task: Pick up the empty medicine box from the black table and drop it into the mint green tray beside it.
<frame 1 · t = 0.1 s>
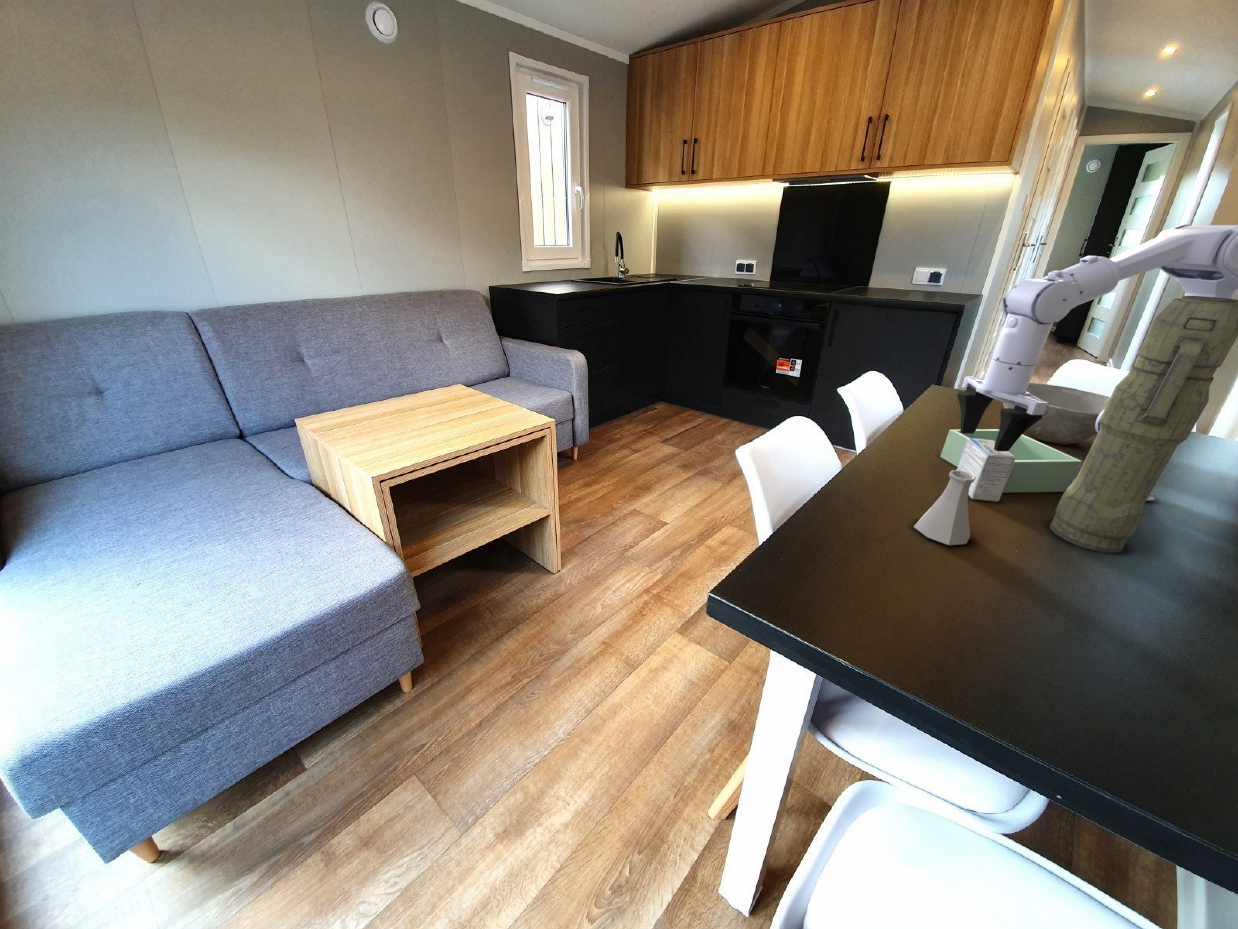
hand: (983, 441, 82), 10 cm above the table, tool pointing down, fingers open, 7 cm apart
flask: (940, 534, 75), on the table
mint green tray: (999, 473, 95), on the table
medicine box: (974, 491, 88), on the table
thermos: (1084, 537, 75), on the table
ceramic bowl: (1044, 438, 114), on the table
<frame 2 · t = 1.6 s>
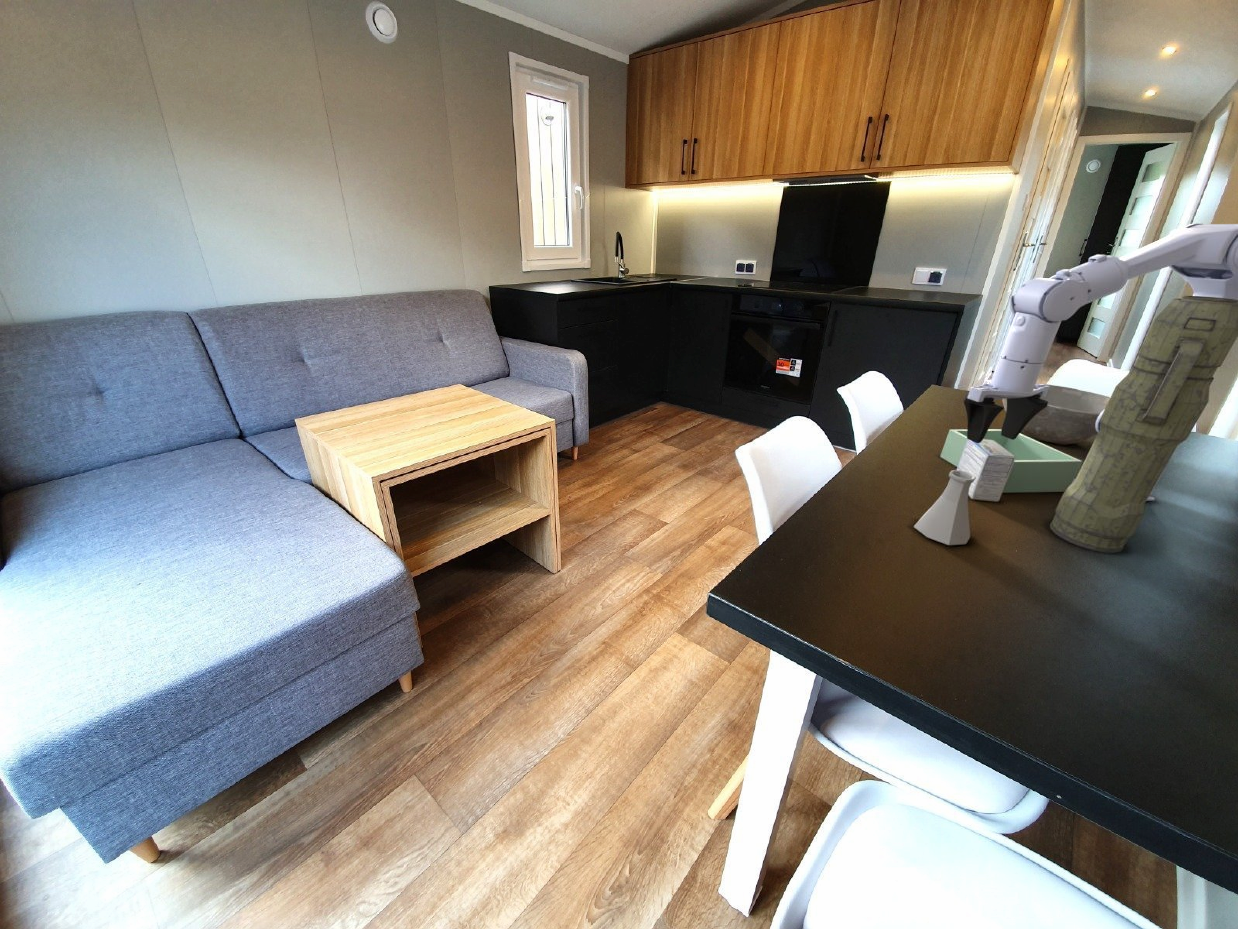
hand: (990, 439, 83), 10 cm above the table, tool pointing down, fingers open, 7 cm apart
nothing on the table moved.
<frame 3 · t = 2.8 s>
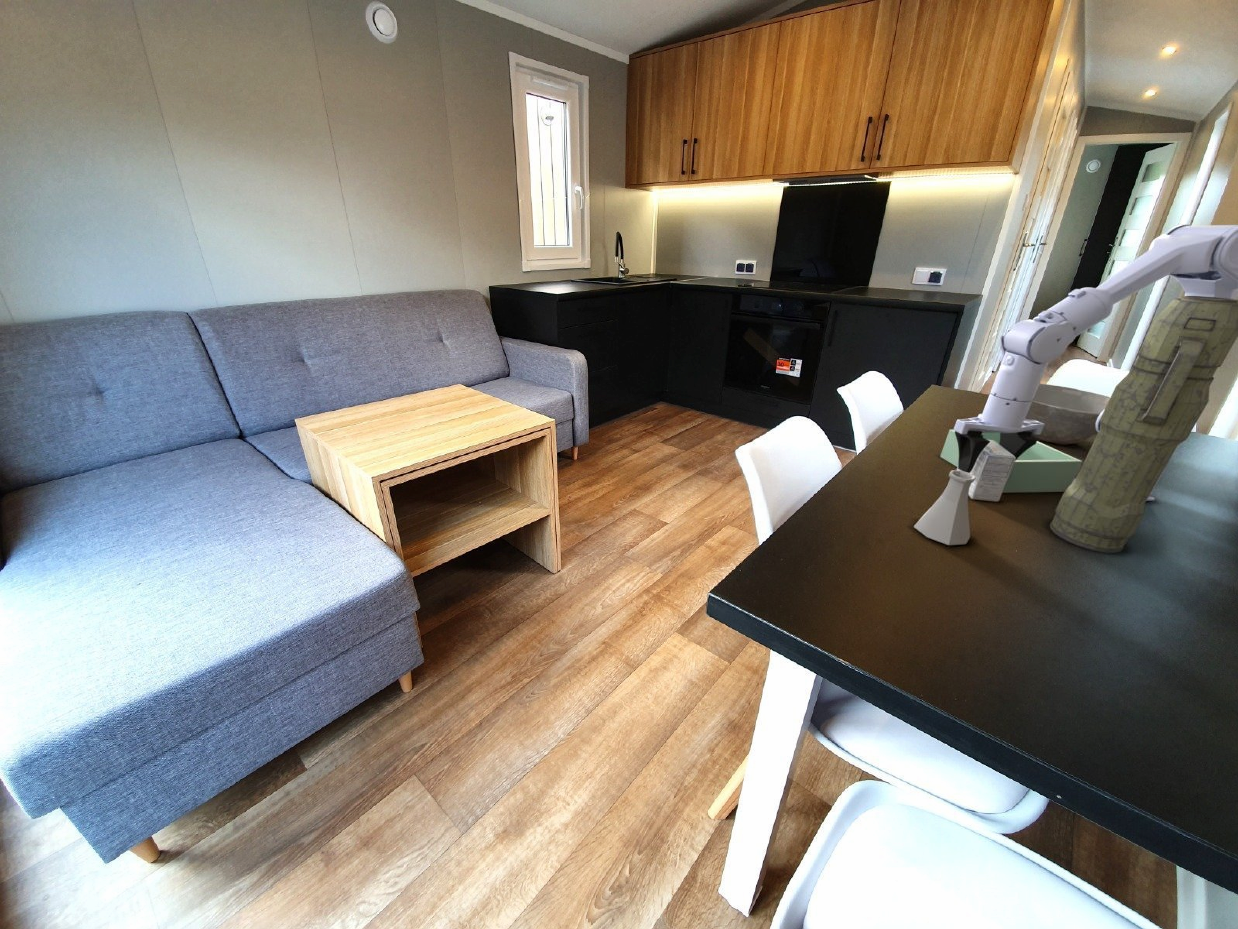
hand: (981, 470, 86), 4 cm above the table, tool pointing down, fingers open, 6 cm apart
nothing on the table moved.
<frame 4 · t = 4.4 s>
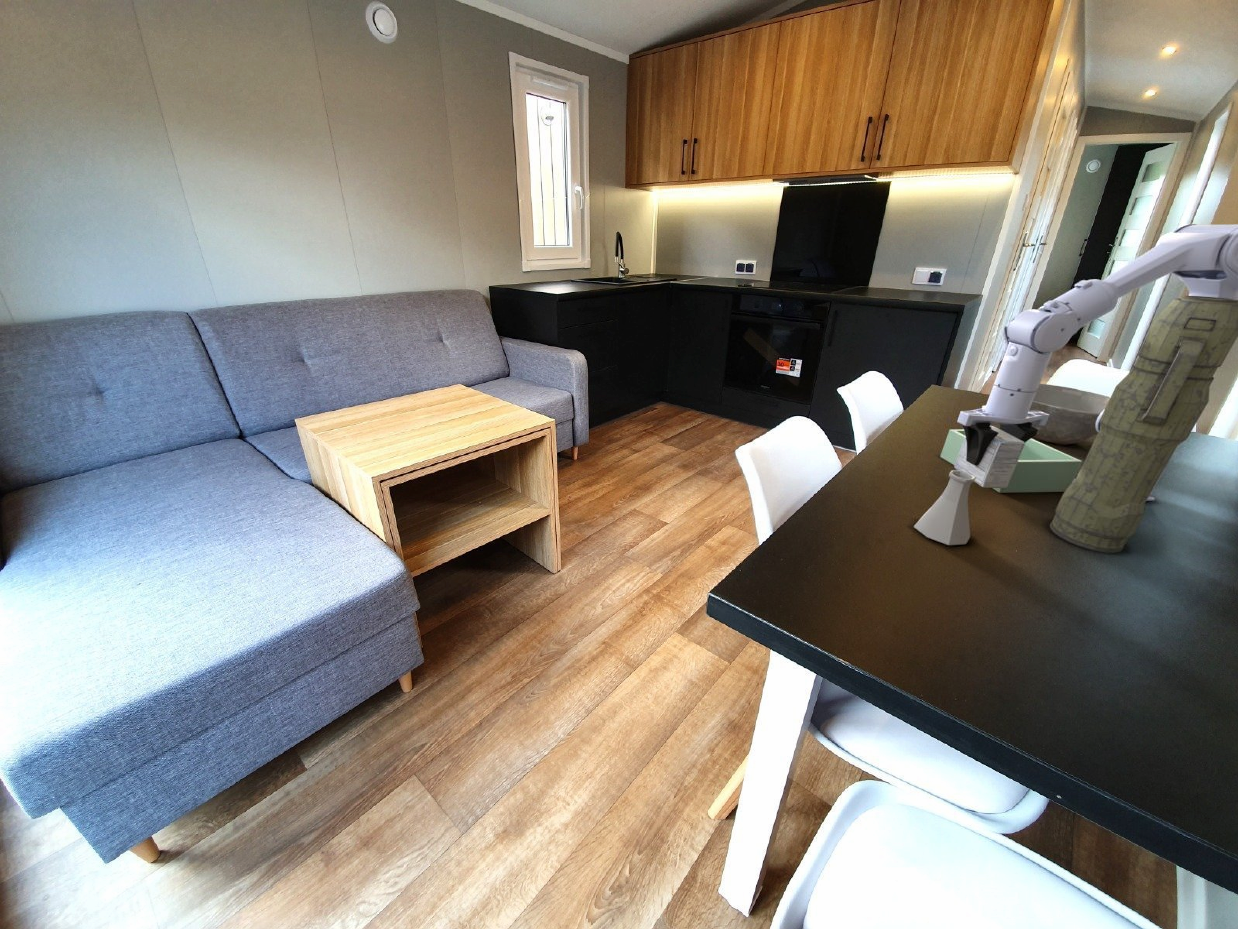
hand: (985, 462, 85), 6 cm above the table, tool pointing down, fingers closed on medicine box, 4 cm apart
medicine box: (978, 479, 87), point 2 cm above the table, touching gripper
everything else where it was.
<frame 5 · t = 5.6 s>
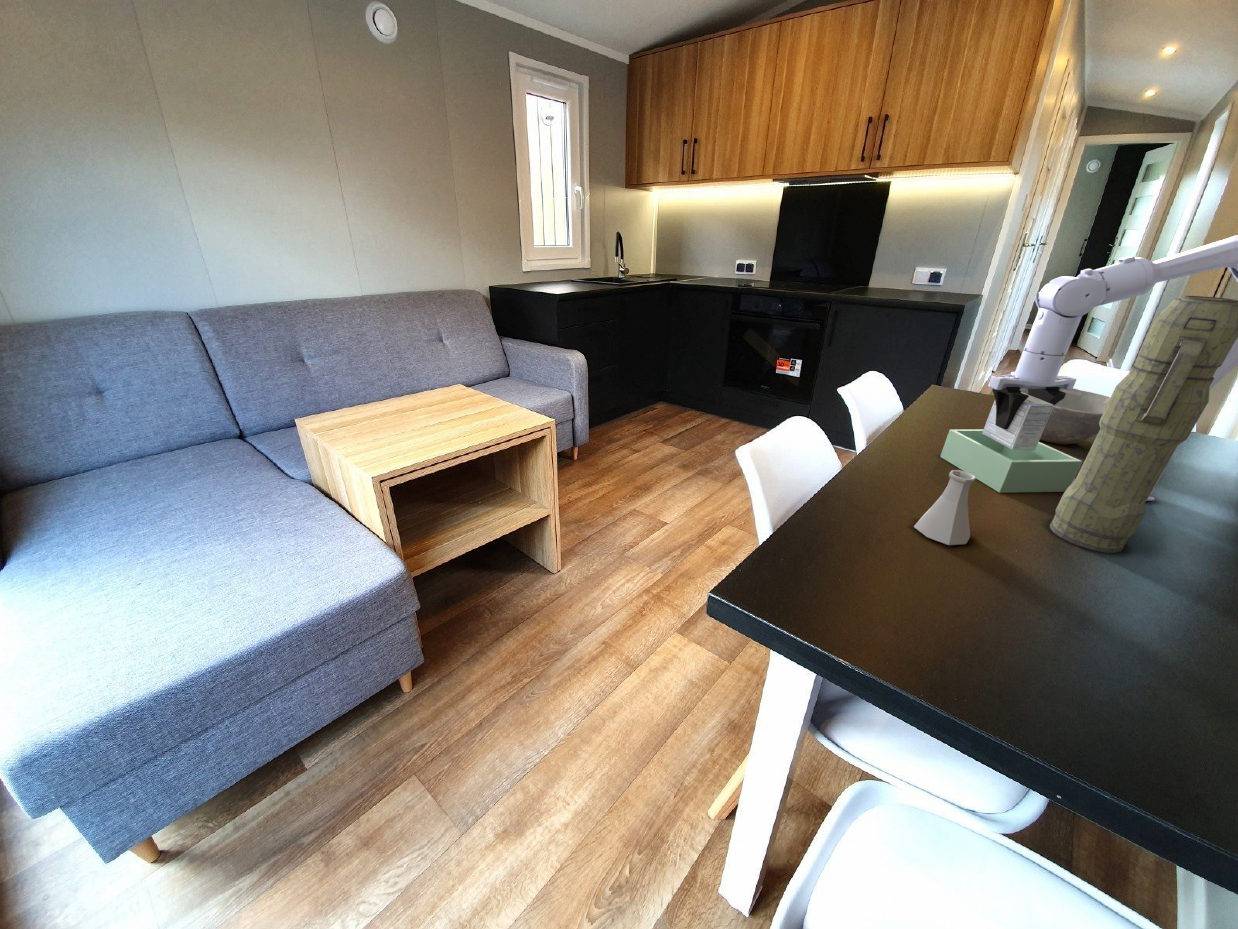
hand: (1014, 427, 89), 10 cm above the table, tool pointing down, fingers closed on medicine box, 4 cm apart
medicine box: (1006, 443, 90), point 7 cm above the table, touching gripper
everything else where it was.
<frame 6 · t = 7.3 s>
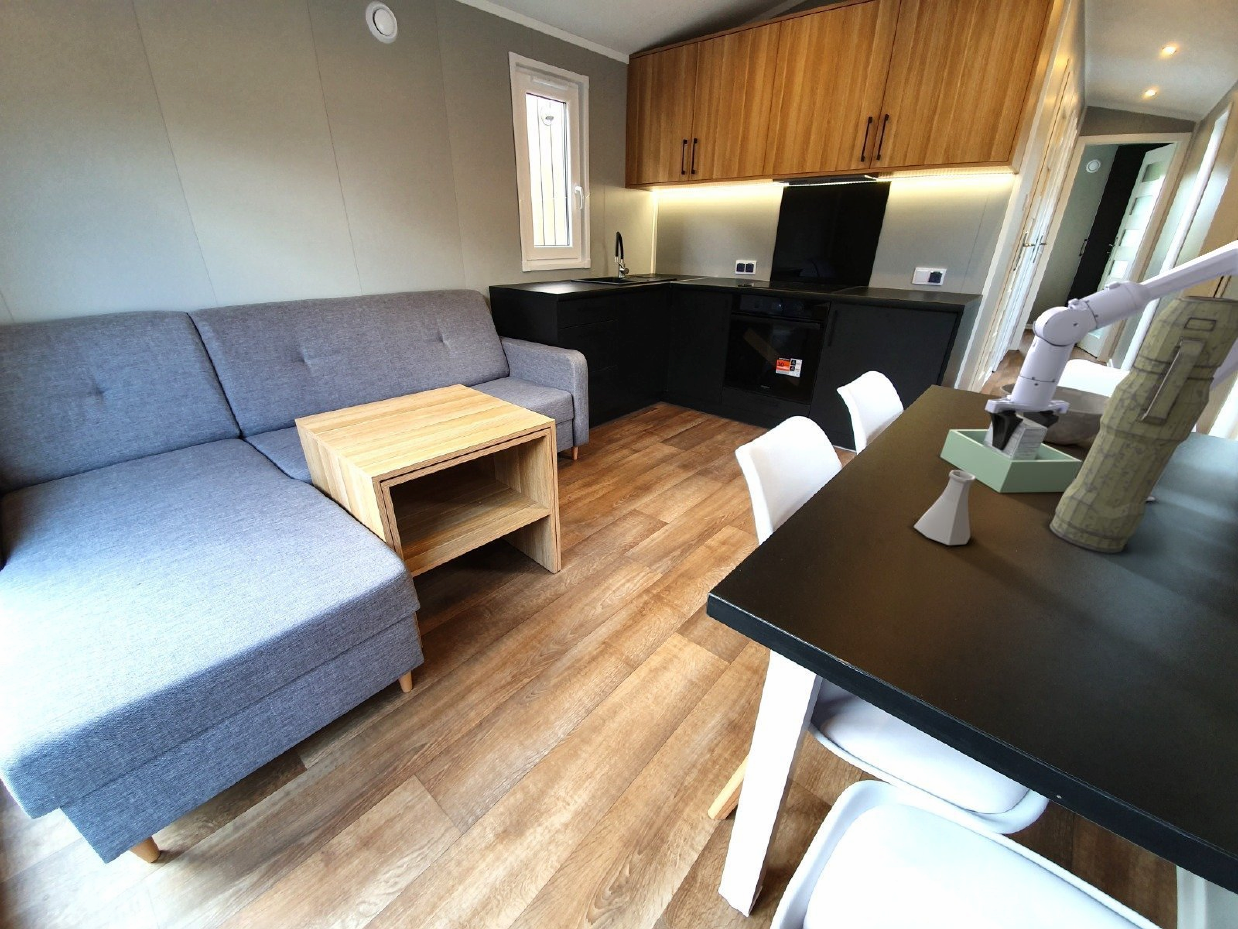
hand: (1010, 447, 93), 5 cm above the table, tool pointing down, fingers closed on medicine box, 4 cm apart
medicine box: (1002, 462, 94), point 2 cm above the table, touching gripper
everything else where it was.
when the fingers open (4 cm above the table, at t = 8.3 s): medicine box stays where it is, resting on mint green tray.
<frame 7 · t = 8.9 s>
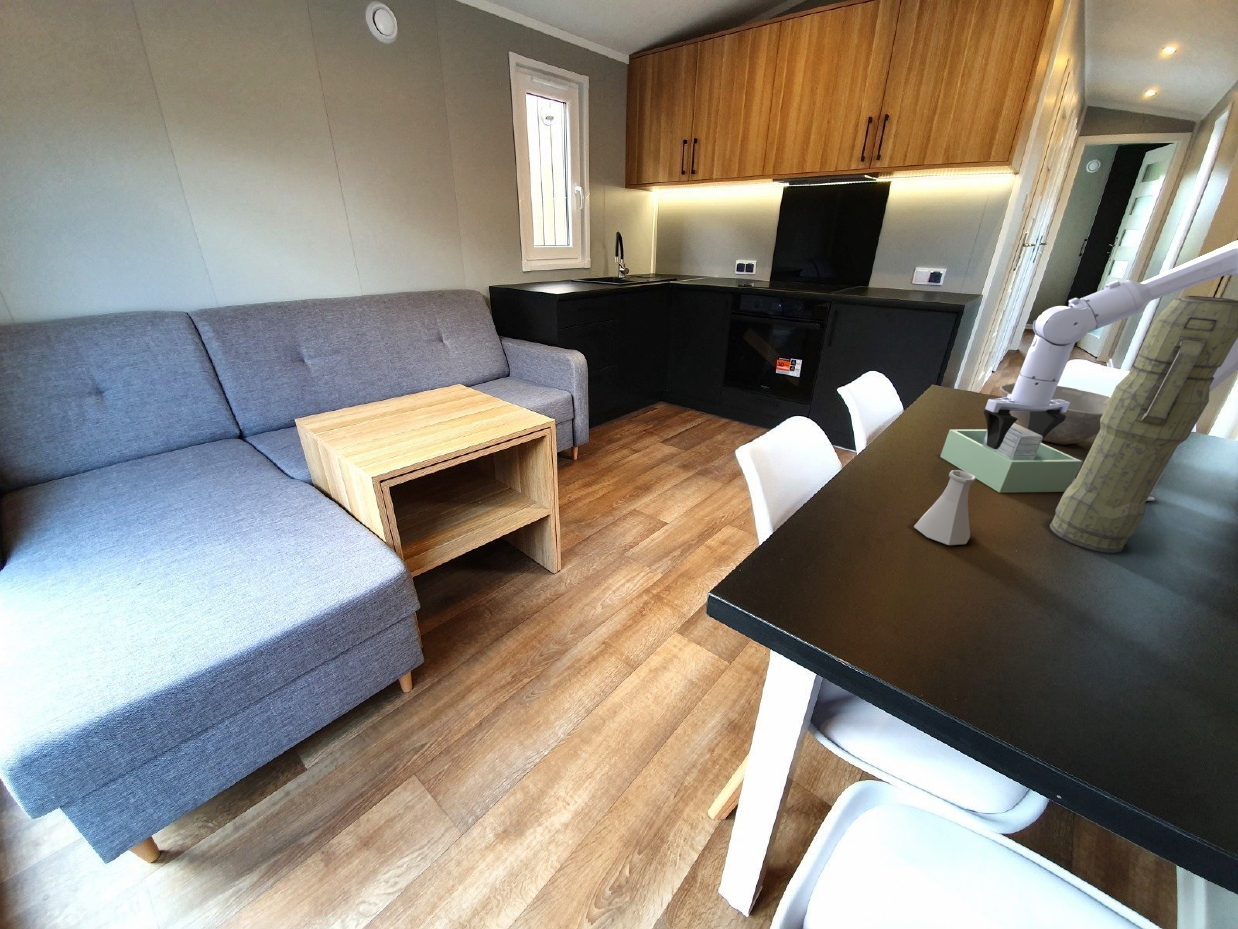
hand: (1010, 447, 93), 5 cm above the table, tool pointing down, fingers open, 7 cm apart
medicine box: (999, 470, 95), resting on mint green tray
everything else where it was.
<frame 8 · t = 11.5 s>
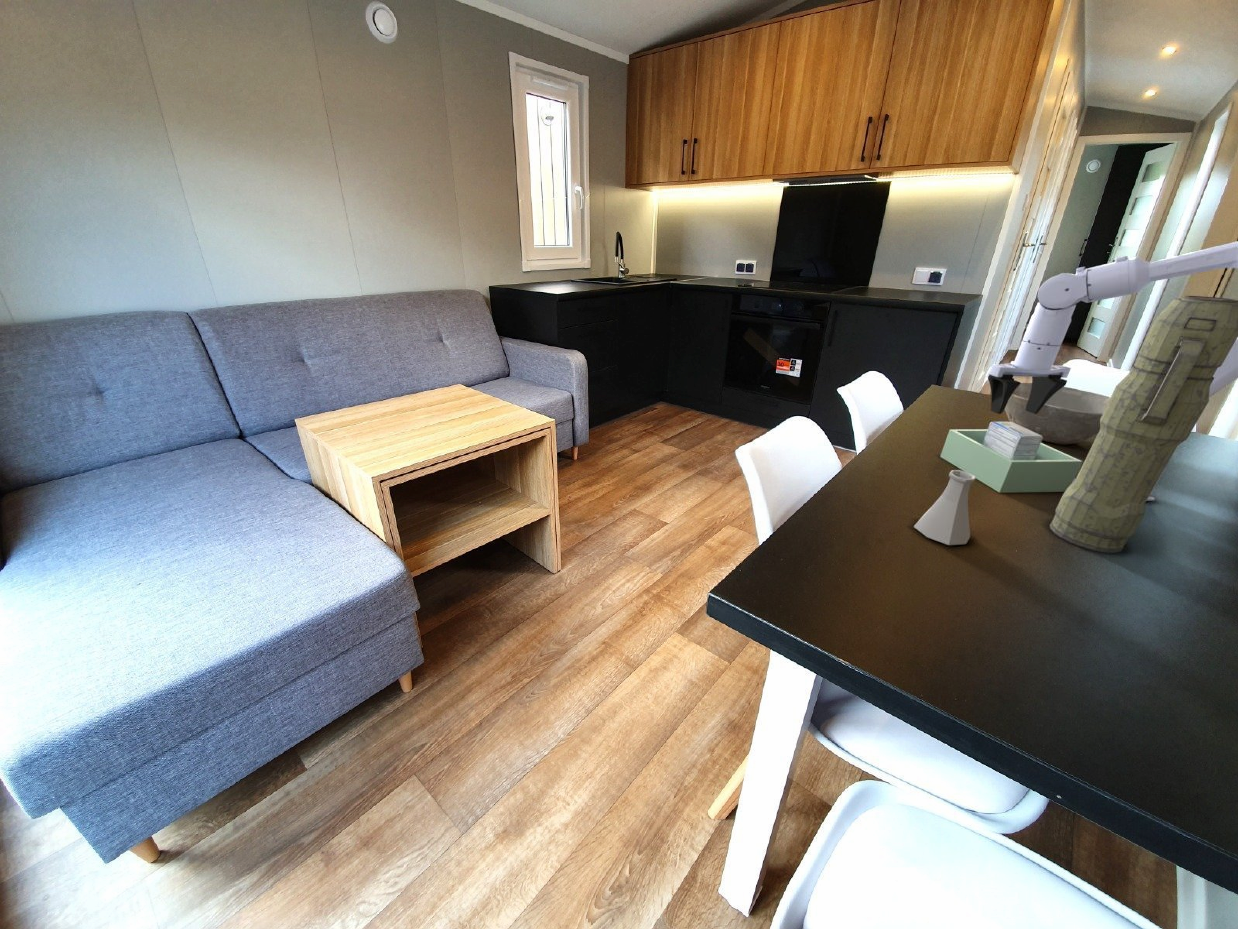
hand: (1013, 412, 97), 10 cm above the table, tool pointing down, fingers open, 7 cm apart
nothing on the table moved.
at the end: medicine box inside the target area in the mint green tray (0.1 cm from its centre), point 0.4 cm above the mint green tray's base; the gripper is holding nothing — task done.
